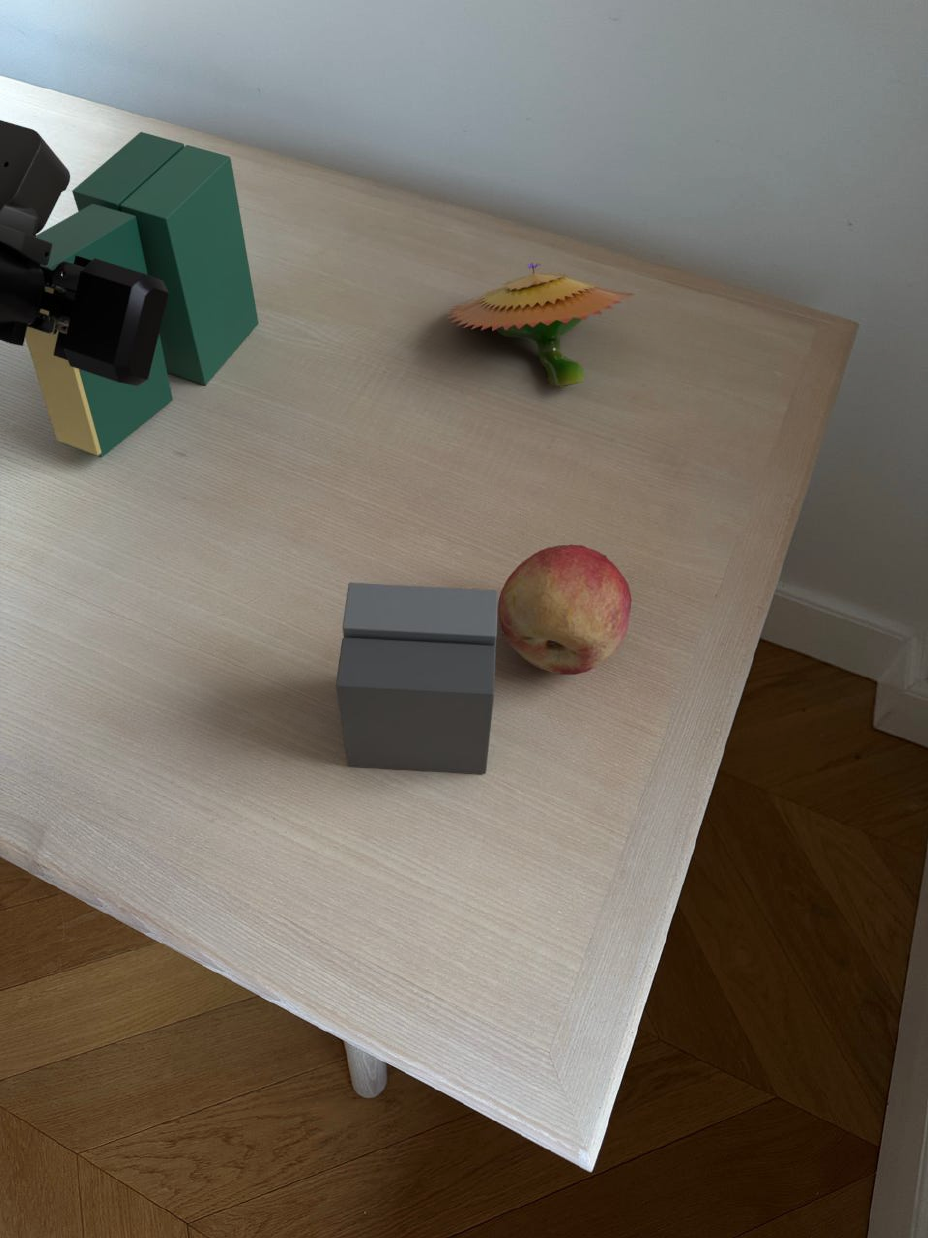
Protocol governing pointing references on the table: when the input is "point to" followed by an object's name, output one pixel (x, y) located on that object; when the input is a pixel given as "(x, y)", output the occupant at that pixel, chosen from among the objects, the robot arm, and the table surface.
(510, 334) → the flower
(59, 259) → the green book
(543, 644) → the fruit
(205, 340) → the green grooved box
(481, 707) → the grey grooved block
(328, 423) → the table surface
